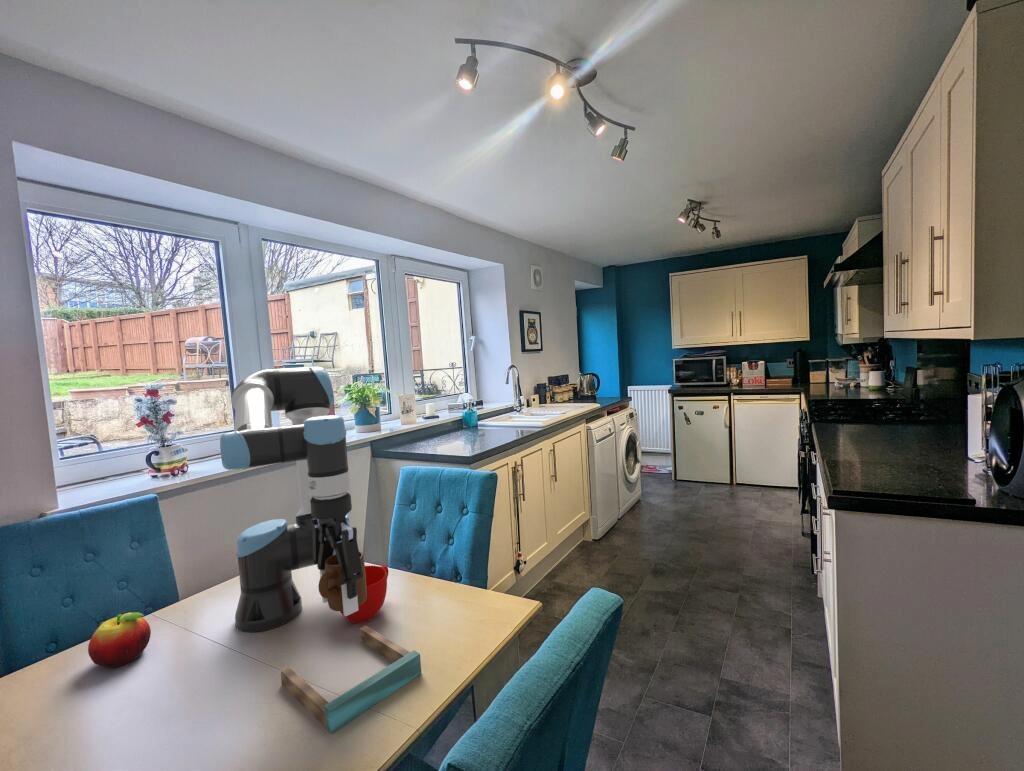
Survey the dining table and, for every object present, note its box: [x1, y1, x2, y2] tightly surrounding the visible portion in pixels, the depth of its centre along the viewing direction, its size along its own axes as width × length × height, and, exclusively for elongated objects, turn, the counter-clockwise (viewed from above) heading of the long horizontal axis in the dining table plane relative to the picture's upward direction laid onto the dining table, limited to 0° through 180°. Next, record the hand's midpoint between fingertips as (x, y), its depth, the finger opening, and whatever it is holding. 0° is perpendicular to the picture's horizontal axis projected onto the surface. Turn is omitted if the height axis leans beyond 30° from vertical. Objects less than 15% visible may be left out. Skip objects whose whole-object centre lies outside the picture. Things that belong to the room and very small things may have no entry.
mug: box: [318, 551, 367, 612], centre depth 93 cm, size 12×8×9 cm, turn 168°
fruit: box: [87, 611, 152, 669], centre depth 104 cm, size 11×11×10 cm
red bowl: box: [340, 565, 389, 624], centre depth 118 cm, size 13×17×10 cm
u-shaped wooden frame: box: [280, 625, 422, 734], centre depth 93 cm, size 20×19×4 cm
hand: (340, 605), depth 94 cm, fingers closed on mug, 8 cm apart
